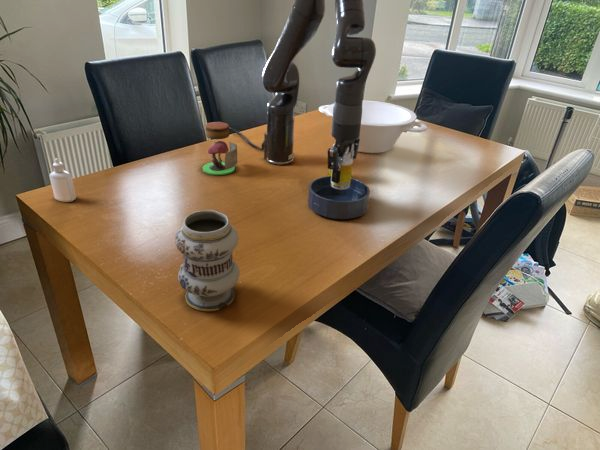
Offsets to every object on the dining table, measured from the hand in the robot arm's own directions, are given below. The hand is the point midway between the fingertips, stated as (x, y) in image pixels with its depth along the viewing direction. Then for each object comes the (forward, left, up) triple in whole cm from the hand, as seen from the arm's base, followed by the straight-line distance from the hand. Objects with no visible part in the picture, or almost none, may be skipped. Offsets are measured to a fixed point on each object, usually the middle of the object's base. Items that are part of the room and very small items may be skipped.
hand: (340, 178), depth 126 cm
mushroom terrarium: (-44, -2, -9) cm, 45 cm away
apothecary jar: (-1, -52, -9) cm, 53 cm away
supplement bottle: (0, 0, -3) cm, 3 cm away
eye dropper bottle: (-62, -45, -9) cm, 77 cm away
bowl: (0, 0, -9) cm, 9 cm away
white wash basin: (-17, +53, -9) cm, 56 cm away
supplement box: (-10, +18, -9) cm, 22 cm away
